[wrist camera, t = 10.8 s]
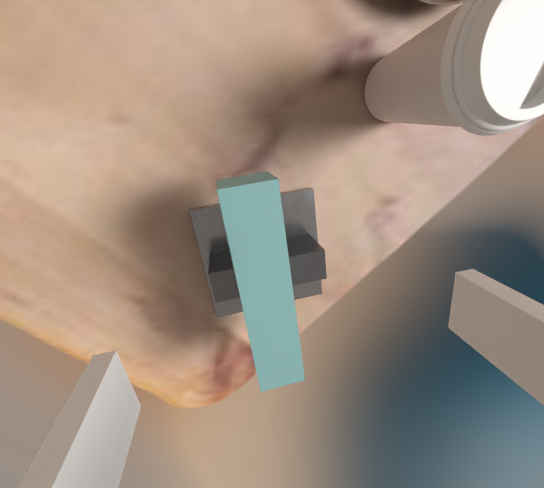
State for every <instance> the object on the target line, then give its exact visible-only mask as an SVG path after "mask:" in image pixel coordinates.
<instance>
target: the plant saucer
mask: <svg viewBox="0 0 544 488" xmlns="http://www.w3.org/2000/svg"><path fill="white" fill-rule="evenodd" d="M418 1H421V2H424V3H427V4H432V5H453V4H458V3H462V2H464V1H465V0H418Z"/></svg>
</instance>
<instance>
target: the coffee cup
mask: <svg viewBox="0 0 544 488" xmlns="http://www.w3.org/2000/svg"><path fill="white" fill-rule="evenodd" d="M365 102H366V105H367V108H368V110H369V111H370V113H371V114H372V115H373V116H374V117H375V118H376V119H378V120H380V121H383V122H393V123H409V124H425V125H440V126H454V127H462V128H463V129H465V130H466V131H468V132H470V133H473V134H477V135H483V136H489V135H496V134H500V133H504V132H507V131H510V130H513V129H515V128H517V127H520V126H522V125H524V124H526V123H528V122H529V121H531V120H532V119H534V118H536V117H539V116H541V115H543V114H544V0H465V1H464V3H463V4H462V5H460V6H459V7H458V8H456V9H455V10H453V11H452V12H450V13H449V14H447V15H446V16H444V17H443V18H442V19H440V20H439V21H437V22H436V23H434V24H433V25H431V26H430V27H428V28H427V29H425V30H424V31H422V32H421V33H419V34H418V35H416V36H415V37H413V38H412V39H411V40H409V41H408V42H406V43H405V44H403V45H402V46H400V47H399V48H397V49H396V50H394V51H393V52H391V53H390V54H388V55H387V56H385V57H384V58H382V59H381V60H380V61H378V62H377V63H376V64H375V65H374V67H373V68H372V69H371V71H370V73H369V75H368V77H367V80H366V84H365Z"/></svg>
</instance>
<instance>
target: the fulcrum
mask: <svg viewBox="0 0 544 488" xmlns="http://www.w3.org/2000/svg"><path fill="white" fill-rule="evenodd" d="M280 195H281V203H282V210H283V218H284V226H285V233H286V241H287V248H288V256H289V263H290V271H291V278H292V286H293V294H294V300H296V299H300V298H304V297H309V296H313V295H318V294H322V287H321V279H326V278H327V277H326V264H325V250H324V249H323V248H322V247H321V246H320V245H319V244H318V239H317V227H316V215H315V203H314V191H313V188H307V189H301V190H295V191H290V192H284V193H280ZM189 213H190V216H191V220H192V224H193V228H194V232H195V236H196V239H197V243H198V247H199V251H200V255H201V259H202V263H203V266H204V270H205V274H206V278H207V282H208V286H209V290H210V293H211V297H212V301H213V305H214V309H215V313H216V317H221V316H225V315H230V314H234V313H239V312H243V308H242V303H241V298H240V294H239V289H238V285H237V280H236V275H235V271H234V266H233V262H232V257H231V252H230V248H229V243H228V239H227V234H226V230H225V225H224V220H223V216H222V211H221V207H220V204H217V205H212V206H206V207H200V208H195V209H190V210H189Z"/></svg>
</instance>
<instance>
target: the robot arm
mask: <svg viewBox="0 0 544 488" xmlns="http://www.w3.org/2000/svg"><path fill="white" fill-rule="evenodd" d="M448 327H449V329H451V330H452V331H453V332H454V333H456V334H457V335H458V336H459V337H461V338H462V339H463V340H464V341H465V342H467V343H468V344H469V345H471V346H472V347H473V348H474V349H475V350H476V351H478V352H479V353H480V354H481V355H483V356H484V357H485V358H486V359H487V360H489V361H490V362H491V363H492V364H494V365H495V366H496V367H497V368H498V369H500V370H501V371H502V372H503V373H505V374H506V375H507V376H508V377H510V378H511V379H512V380H513V381H515V382H516V383H517V384H518V385H519V386H521V387H522V388H523V389H524V390H525V391H527V392H528V393H529V394H530V395H532V396H533V397H534V398H535V399H536V400H538V401H539V402H540V403H541V404H543V405H544V305H542V304H540V303H538V302H536V301H534V300H532V299H530V298H529V297H527V296H525V295H522V294H521V293H519V292H517V291H515V290H513V289H511V288H509V287H507V286H505V285H503V284H501V283H499V282H497V281H495V280H493V279H491V278H489V277H487V276H486V275H484V274H482V273H480V272H478V271H475V270H474V269H470V270H465V271H461V272H456V273H455V281H454V289H453V297H452V304H451V311H450V319H449V326H448ZM140 407H141V405H140V403H139V401H138V398H137V396H136V394H135V392H134V390H133V388H132V385H131V383H130V380H129V378H128V376H127V374H126V372H125V369H124V367H123V365H122V363H121V360H120V358H119V356H118V354H117V351H111V352H107V353H103V354H98V355H94V356H92V358H91V360H90V361H89V363H88V365H87V367H86V369H85V370H84V372H83V374H82V376H81V377H80V379H79V381H78V383H77V384H76V386H75V388H74V390H73V392H72V393H71V395H70V397H69V399H68V400H67V402H66V404H65V406H64V408H63V410H62V411H61V413H60V415H59V416H58V418H57V420H56V422H55V423H54V425H53V427H52V429H51V431H50V432H49V434H48V436H47V438H46V439H45V442H44V443H43V445H42V446H41V448H40V450H39V452H38V454H37V455H36V457H35V459H34V461H33V462H32V464H31V466H30V468H29V470H28V471H27V473H26V475H25V477H24V479H23V480H22V482H21V484H20V485H19V487H18V488H118V486H119V483H120V479H121V476H122V472H123V468H124V465H125V461H126V458H127V454H128V451H129V447H130V443H131V439H132V436H133V433H134V429H135V425H136V422H137V418H138V415H139V411H140Z"/></svg>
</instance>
